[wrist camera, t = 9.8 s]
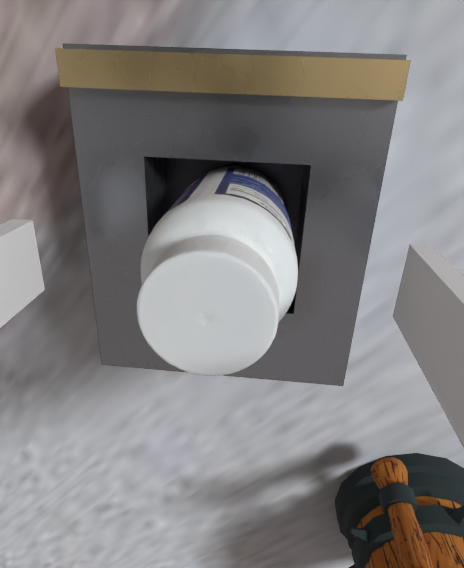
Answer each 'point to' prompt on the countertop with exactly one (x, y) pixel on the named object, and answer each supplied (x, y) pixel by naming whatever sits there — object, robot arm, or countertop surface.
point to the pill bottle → (218, 273)
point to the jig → (234, 152)
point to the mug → (404, 513)
